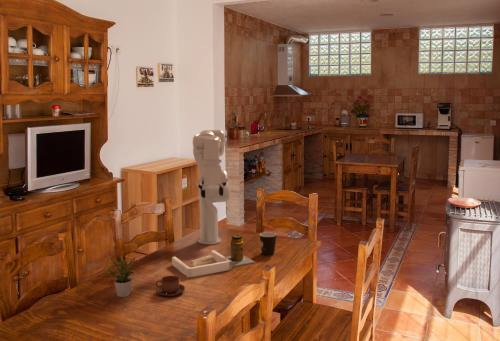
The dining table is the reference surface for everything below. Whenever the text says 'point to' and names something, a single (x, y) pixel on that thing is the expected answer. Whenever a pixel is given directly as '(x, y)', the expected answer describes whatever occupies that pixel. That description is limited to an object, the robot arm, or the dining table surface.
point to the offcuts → (203, 261)
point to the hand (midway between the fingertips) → (212, 196)
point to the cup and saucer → (169, 286)
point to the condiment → (236, 249)
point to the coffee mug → (268, 243)
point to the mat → (242, 261)
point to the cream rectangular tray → (204, 266)
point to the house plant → (122, 277)
